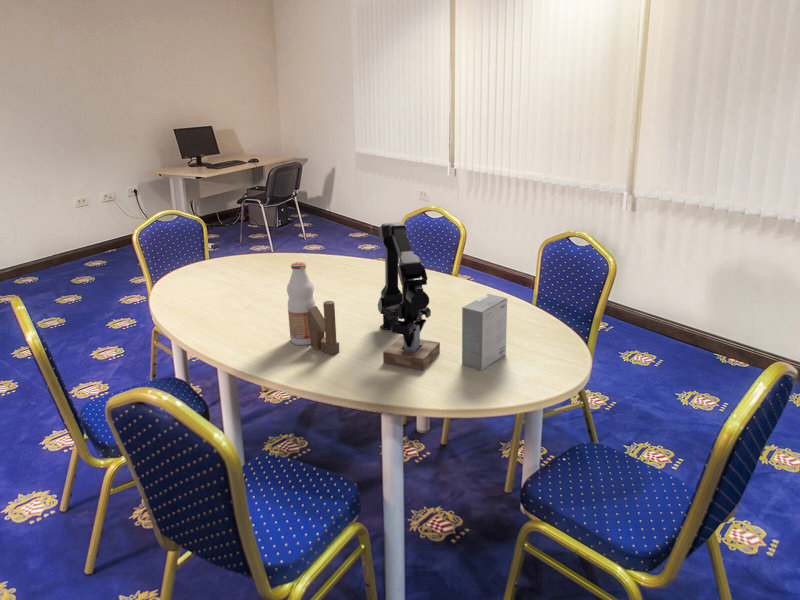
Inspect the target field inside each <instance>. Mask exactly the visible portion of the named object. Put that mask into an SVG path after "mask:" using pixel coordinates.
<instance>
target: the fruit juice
mask: <svg viewBox="0 0 800 600" xmlns="http://www.w3.org/2000/svg"><path fill="white" fill-rule="evenodd" d="M290 267H291V271H292V272H291V273H290V274H291V275H290V279H289V282H288V284H287V285H286V292H287V295H288V300H287V313H288V326H289V327H288V329H289V338H290V341H291V343H292V344H294V345H297V346H306V345H308V346H309V345H311V336H310V323H309V308H312V307H315V306H316V300H315V298H314V289H315V287H314V283H312V281H311V279H310V277H309V275H308V273H307V271H306V268H307V264H306V263H305V262H303V261H302V262H301V261H300V262H299V261H298V262H292V263H291V264H290Z"/></svg>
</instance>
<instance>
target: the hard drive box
mask: <svg viewBox="0 0 800 600" xmlns="http://www.w3.org/2000/svg"><path fill="white" fill-rule="evenodd" d="M461 316H462V317H461V364H462V365H461V366H465V367H468V368H471V369H474V370H475V369H476V370H479V371H482V370H484V369H486V368H487V367H488V366H490V365H492V364H493V363H495V362H496V361H497V360H499V359H502V357H504V356H505V355H507V326H508V325H507V324H508V323H507V322H508V321H507V320H508V318H507V317H508V298H507V297H504V296H500V295H497V294H496V295H495V294H491V293H486V294H484V295H482V296H481V297H479V298H477V299H475V300H474V301H472V302H470V303H468V304H466V305H464V306H462V307H461Z"/></svg>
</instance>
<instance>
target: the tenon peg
mask: <svg viewBox="0 0 800 600" xmlns="http://www.w3.org/2000/svg"><path fill="white" fill-rule="evenodd" d="M414 329H417V330H416V333H415V336H414V339H413V342H412V345H411V347H407V344H406V342H405V339H404V350H410V351H415V352H416V351H418V350H419V349H420V339H421V332H420V325H417V324H414Z"/></svg>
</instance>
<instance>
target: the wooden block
mask: <svg viewBox="0 0 800 600" xmlns="http://www.w3.org/2000/svg"><path fill="white" fill-rule="evenodd" d="M322 306H323V314H322V312H321V311H320V309H319V307H318V306H317V305H315V307H312V308H309V323H310V336H311V344H310V346H311V348H313V349H316V350H320V349H321V350H320V351H321V352H323V353H326V354H329V355H331V356H333V355H335V354H338V353H340V342H338V341H337V328H336V327H337V325H336V324H337V323H336V309H335V302H334V300H326V301H325V300H324V301H323V305H322Z"/></svg>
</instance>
